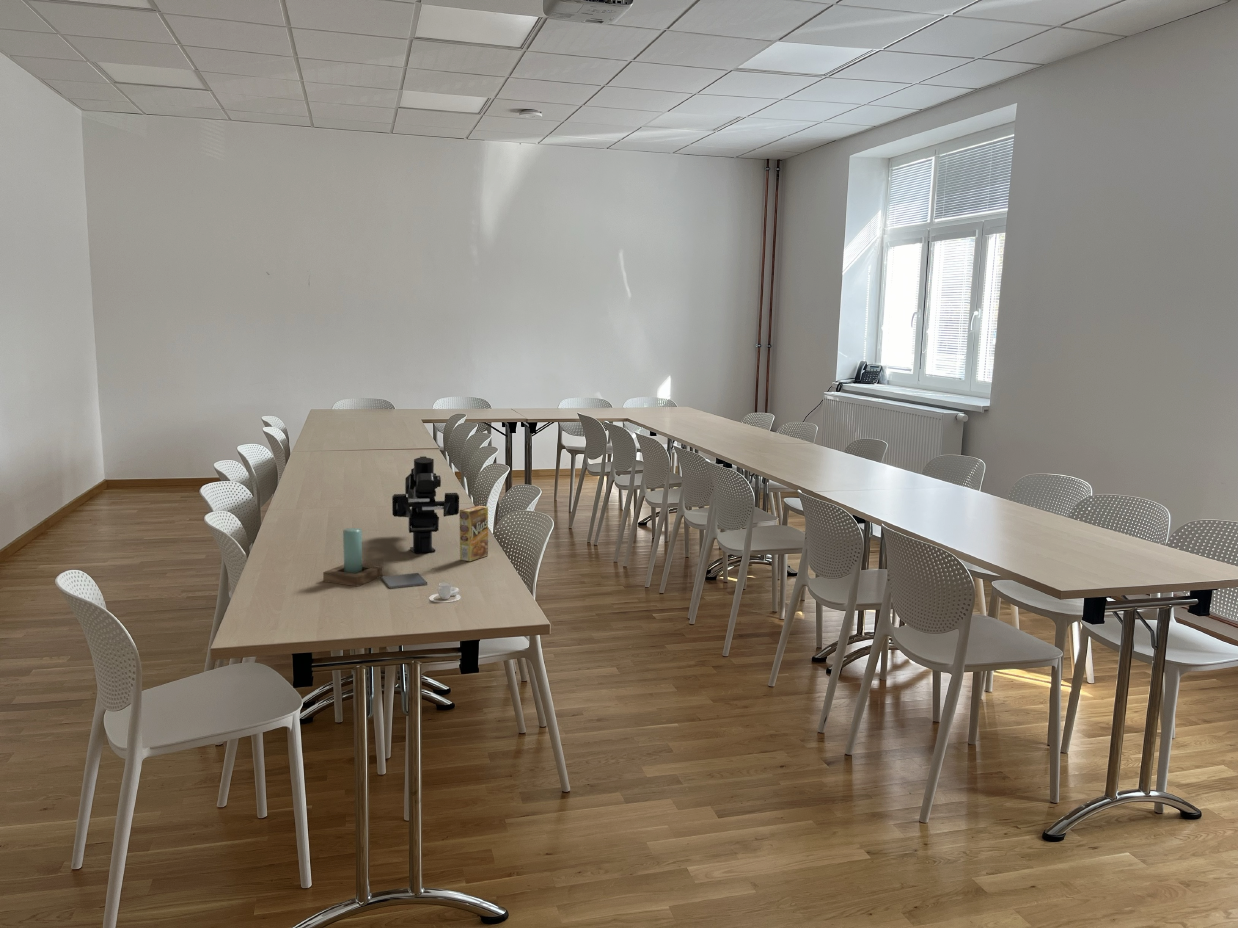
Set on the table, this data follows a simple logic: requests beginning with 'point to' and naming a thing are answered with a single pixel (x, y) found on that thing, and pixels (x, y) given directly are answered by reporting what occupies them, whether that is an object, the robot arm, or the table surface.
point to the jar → (352, 550)
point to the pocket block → (352, 575)
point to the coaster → (404, 580)
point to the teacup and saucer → (446, 593)
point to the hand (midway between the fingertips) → (427, 515)
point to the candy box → (473, 533)
